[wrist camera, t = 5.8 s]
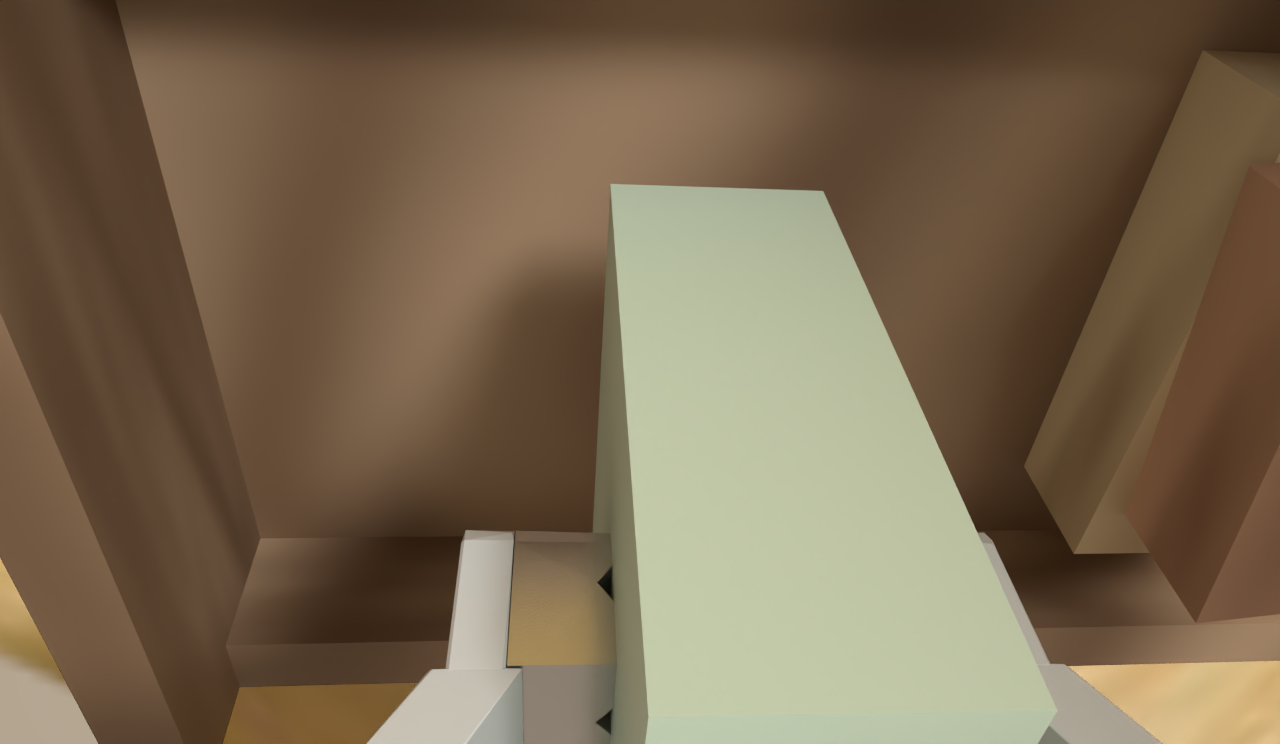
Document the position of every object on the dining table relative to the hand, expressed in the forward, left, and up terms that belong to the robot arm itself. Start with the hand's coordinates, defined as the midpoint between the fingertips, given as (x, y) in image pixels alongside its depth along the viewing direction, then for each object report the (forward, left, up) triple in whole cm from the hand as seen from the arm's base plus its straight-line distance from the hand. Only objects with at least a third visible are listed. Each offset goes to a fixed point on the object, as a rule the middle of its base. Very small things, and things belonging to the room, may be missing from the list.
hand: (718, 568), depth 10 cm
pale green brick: (0, 0, -3) cm, 3 cm away
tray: (-2, 0, -7) cm, 7 cm away
